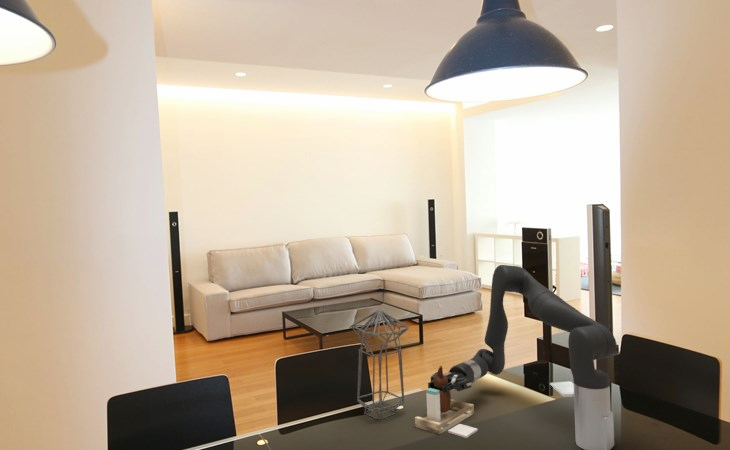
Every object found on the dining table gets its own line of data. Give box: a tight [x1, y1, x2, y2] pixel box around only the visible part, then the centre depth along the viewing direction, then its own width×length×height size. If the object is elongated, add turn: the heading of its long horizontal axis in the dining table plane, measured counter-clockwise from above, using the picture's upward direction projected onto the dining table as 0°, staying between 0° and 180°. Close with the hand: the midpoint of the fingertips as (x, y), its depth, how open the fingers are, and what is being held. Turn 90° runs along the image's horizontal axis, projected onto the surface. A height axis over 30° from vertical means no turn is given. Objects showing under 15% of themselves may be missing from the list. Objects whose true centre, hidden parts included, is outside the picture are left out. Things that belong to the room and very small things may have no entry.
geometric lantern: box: [348, 309, 410, 421], centre depth 172 cm, size 16×16×35 cm
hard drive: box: [549, 381, 574, 398], centre depth 187 cm, size 2×8×12 cm
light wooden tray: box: [414, 398, 475, 435], centre depth 165 cm, size 9×20×3 cm, turn 137°
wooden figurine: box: [433, 365, 452, 413], centre depth 164 cm, size 7×6×15 cm
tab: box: [425, 388, 441, 422], centre depth 161 cm, size 4×2×10 cm, turn 47°
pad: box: [447, 423, 478, 439], centre depth 156 cm, size 6×6×1 cm
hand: (436, 388), depth 162 cm, fingers closed on wooden figurine, 4 cm apart
